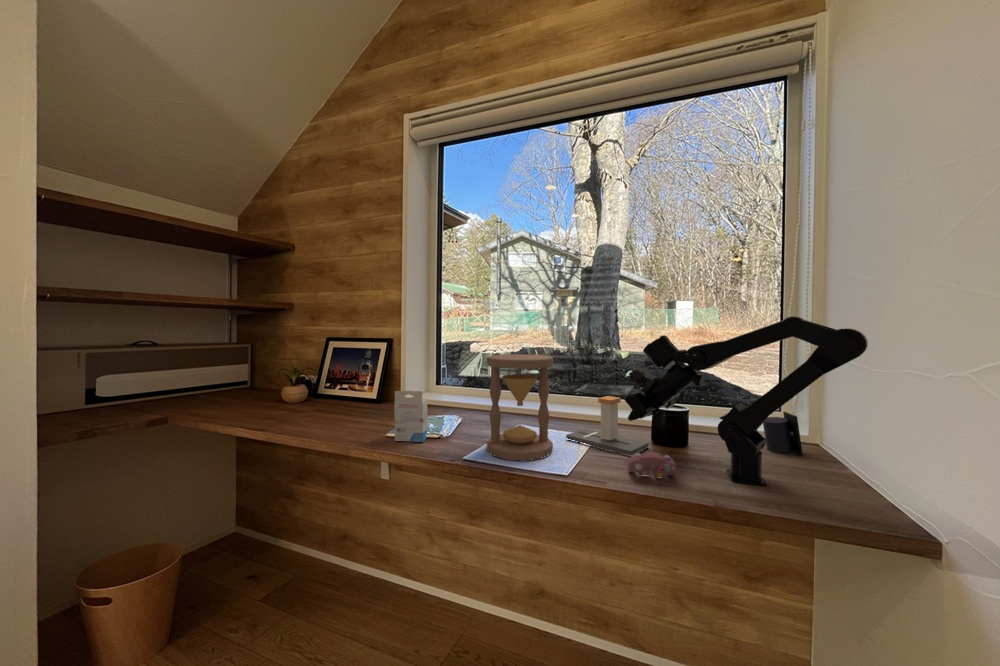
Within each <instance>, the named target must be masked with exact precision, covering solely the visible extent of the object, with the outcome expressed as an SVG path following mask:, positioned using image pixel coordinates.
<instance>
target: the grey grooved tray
mask: <svg viewBox="0 0 1000 666" xmlns="http://www.w3.org/2000/svg"><path fill="white" fill-rule="evenodd" d="M565 436H566V437H565V439H566V438H568V439H571V440H575V441H578V442H582V443H586V444H589V445H592V446H595V447H599V448H603V449H607V450H612V451H615V452H619V453H623V454H628V455H633V454H635V453H637V452H639V451H641V450H643V449H645V448H647V447H649V446H650V445H649V443H650V442H647V441H643V440H638V439H636V438H635V439H634V438H629V437H625V436H620V435H618V438H616V439H613V440H611V441H610V440H606V439H601V431H599V430H595V429H590V428H586V427H585V428H582V429H579V430H576V431H573V432H571V433H568V434H565ZM595 447H594V448H595ZM599 448H598V449H599Z"/></svg>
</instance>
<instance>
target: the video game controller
mask: <svg viewBox="0 0 1000 666" xmlns="http://www.w3.org/2000/svg"><path fill="white" fill-rule="evenodd" d="M629 458H630V459H629V460H628V463H627V468H628V472H629V471H630V472H629V473H631V472H632V473H634V472H636V473H638V475H639V476H640V475H649V476H650V475H651V473H650V468H654V470H653V475H654V477H655V476H657V477H664V478H665V477H667V476H669V475H670V476H669V477H671V476H673V475H675V473H676V471H677V464H676V461H674V459H673V458H672V457H671V456H670V455H668V454H665V455H663V454H661V453H658V452H653V451H648V452H643V453H642V452H640V453H636V454H635V455H633V456H632V457H629Z"/></svg>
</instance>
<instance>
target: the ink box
mask: <svg viewBox="0 0 1000 666" xmlns="http://www.w3.org/2000/svg"><path fill="white" fill-rule="evenodd" d="M408 395H409V396H410V397H409V396H408ZM405 396H406V397H405ZM407 396H408V397H407ZM411 396H413V397H411ZM393 404H394V405H393V406H394V442H395V441H413V442H423V443H424V442H425V441H426V440H427V439H426V434H427V432H428V398H423V392H422V391H421V390H417V391H416V390H395V391H394V403H393ZM425 439H426V440H425Z"/></svg>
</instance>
